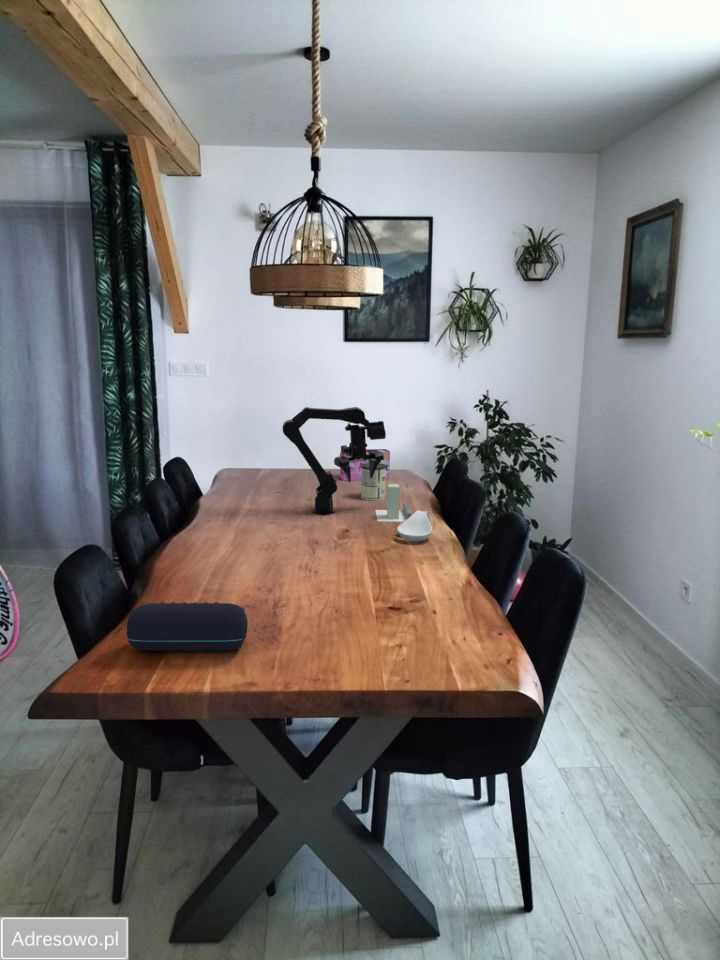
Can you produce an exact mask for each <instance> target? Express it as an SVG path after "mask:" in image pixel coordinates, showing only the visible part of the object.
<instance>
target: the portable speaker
mask: <svg viewBox="0 0 720 960" xmlns="http://www.w3.org/2000/svg"><path fill="white" fill-rule="evenodd" d="M248 622H249V621H248V617H247V614H246V610H245V608H244V607H242V606H241V605H238V604H234V603H231V602H230V603H229V602H227V603H225V602H224V603H223V602H221V603H219V602H217V601H216V602H202V603H201V602H189V603H188V602H182V603H181V602H174V601H173V602H169V603H167V602H149V603H145V604H140V605H139V606H137V607H135V608H133V609H132V610H131V612H130V613H129V615H128V618H127V623H126V636H127V640H128V644H129V645H130V646H131V648H134V649H136V650H141V651H146V652H229V651H236V650H239V649H241V648H242V646H243V643H245V640H246V638H247V636H248V635H247V633H248V628H249V627H248Z"/></svg>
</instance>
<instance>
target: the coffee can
mask: <svg viewBox="0 0 720 960" xmlns="http://www.w3.org/2000/svg"><path fill="white" fill-rule="evenodd" d="M361 467H362V478H361V480H360V481H361V485H360V486H361V487H360V488H361V490H360V491H361V492H360V493H361V494H360V498H361V499H362V500H365V501H375V500H379V501H382V500H385V499H386V480H385V473H386V465H385V464H381V463H379V464H378V466H377V468H376V470H375V472H374V475H373V477H372V478H370V464H369V463H365V464H362V465H361Z"/></svg>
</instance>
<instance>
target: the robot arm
mask: <svg viewBox="0 0 720 960" xmlns="http://www.w3.org/2000/svg"><path fill="white" fill-rule="evenodd" d="M310 419H311V420H313V419H314V420H315V419H316V420H317V419H318V420H330V421H332V420H335V421H337V420H338V421H342V422H345V423H346V422H347V425H346V426H345V427H344V430H345V432H349V435H350V436H349V437H350V442H349V446H347V444H345V445H340V451H341V453H342V454H346V456H352V457H351V458H346V457H345V456H340V455H339V456H336V457H334V459H333V463H334V464H333V465H335V466H336V467H338V468H342V469H343V471H344V473H345V475H346V477H347V482H348V483H351V481H352V480H351V473H350V466H348V465H349V463H351V462H357V461H362V460H369V464H370V478H372V477H373V475H374V472H375V470H376V468H377V466H378V464H379V463H381V460H384V454H383V453H382V452H380V451H378V450H375V451H369V453H368V454H366V449H367V447H368V444H367V442H366V439H367V438H369V440H370V441H373V440H374V441H375V440H385V439H386V434H387V433H386V427H385V424H384V423H385V422H384V421H383V420H378V421H369V419H367V418H366V415H365V412H364V410H363V409H362V408H360V407H357V406H355V407H346V408H341V409H335V408H319V407H318V408H315V407H304V408H303V409H302V410H301V411H300V412H299V413H297V414H295V416H294V417H292V418H291V419H287V420H285V421H284V422H283V424H282V433H283V435H284V436H285V437H286V438H287V439H289V441H290V442H291V443H292V444H293V445H295V446H296V448H297V449H298V451H299V452H300V454H301V455H302V457H303V458H304V460H305V462H307V464H308V466H309V468H310V469H311V470H312V472H313V474H315V477H316V479H317V481H318V484H319V485H318V486H317V487H316V488H315V493H316V496H315V497H314V510H311V512H312V513H314V514H318V515H321V516H326V515H330V514H334V513H336V511H335V510H334V508H333V507H334V500H333V495H334V494H335V493H336V492H337V490H338V485H337V483H338V480H337V478H336V477H335V476H333V473H332V472H331V470H328V471H327V470H325V469H324V467H323V466H322V464H321V463H320V461H319V460H318V459H317V457H316V456H315V454H314V453H313V451H312V449H311V448H310V447H309V445H308V444H307V442H306V441H305V439H304V438H303V434H302V432H301V430H300V428H301V427H303V426H304V424H305V423H306V422H308V421H309V420H310ZM360 424H361V425H362V426H360Z"/></svg>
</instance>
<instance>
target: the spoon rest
mask: <svg viewBox="0 0 720 960" xmlns="http://www.w3.org/2000/svg"><path fill="white" fill-rule="evenodd" d="M430 519H431V518H430V515H429V513H428V511H427V510H426V511H422V510H416V511H415V512H414V513H413V514H411V517H410V518H408V519H407V520H406V521H404V522H401V523H400V524H399V525H398V526H397V528H396V531H397V534H398V535H399V536H400V537H401V538H402V539H404V540H405V541H408V542H414V543H417V542H418V543H419V542H422V541H425V540H426V539H428V538H429V537H430V536H431V534H432V532H433V527H432V524H431V520H430Z"/></svg>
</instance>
